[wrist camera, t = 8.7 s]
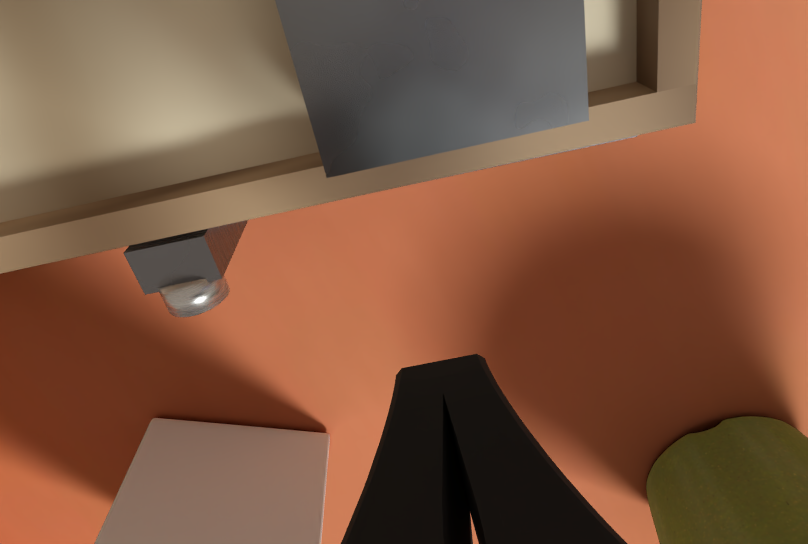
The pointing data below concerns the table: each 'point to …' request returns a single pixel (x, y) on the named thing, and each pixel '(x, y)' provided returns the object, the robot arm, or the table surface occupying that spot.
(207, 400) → the table surface
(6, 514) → the table surface
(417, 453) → the robot arm
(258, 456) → the milk carton
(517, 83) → the block
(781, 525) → the plant pot
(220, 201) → the beam
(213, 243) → the beam stand
